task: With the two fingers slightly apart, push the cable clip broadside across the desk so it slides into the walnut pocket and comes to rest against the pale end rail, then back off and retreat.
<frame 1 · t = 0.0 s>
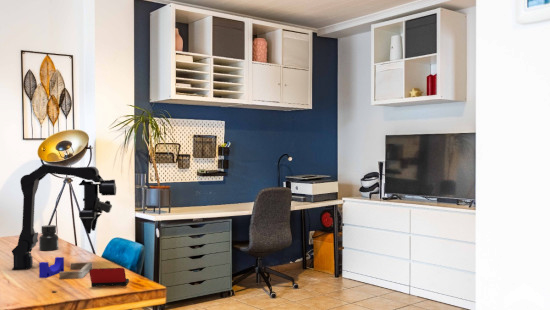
hand: (91, 232, 238), 15 cm above the table, tool pointing down, fingers open, 9 cm apart
cable clip: (50, 275, 223), on the table
slot rails: (74, 273, 224), on the table
ink bottle: (48, 250, 281), on the table
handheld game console: (109, 286, 204), on the table
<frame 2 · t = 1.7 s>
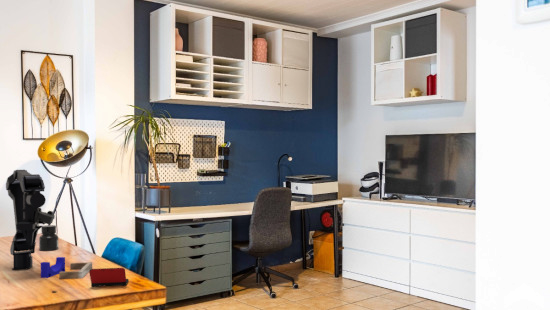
hand: (31, 244, 222), 12 cm above the table, tool pointing down, fingers open, 3 cm apart
nothing on the table moved.
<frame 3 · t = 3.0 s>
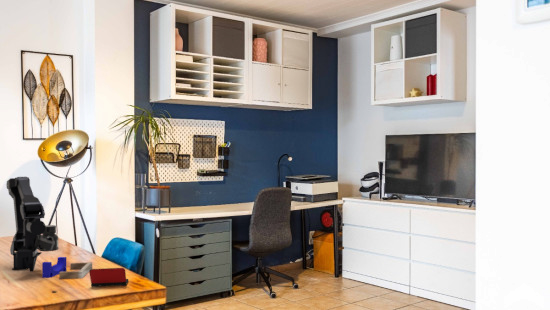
hand: (31, 271, 222), 1 cm above the table, tool pointing down, fingers closed
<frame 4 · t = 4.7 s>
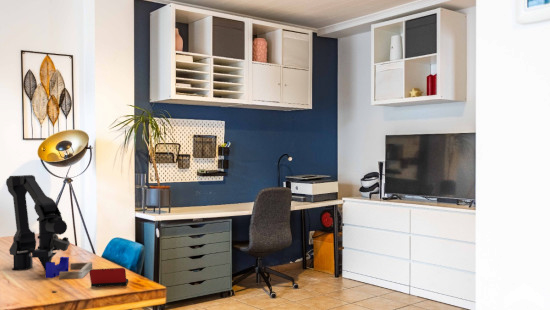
hand: (47, 271, 223), 1 cm above the table, tool pointing down, fingers closed
cable clip: (55, 275, 223), on the table, touching gripper
everything else where it was.
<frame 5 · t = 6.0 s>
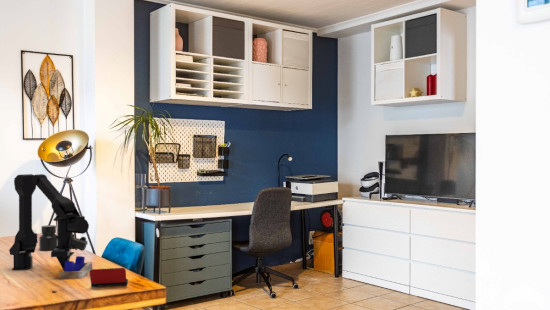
hand: (65, 271, 224), 1 cm above the table, tool pointing down, fingers closed
cable clip: (72, 274, 223), on the table
everything else where it was.
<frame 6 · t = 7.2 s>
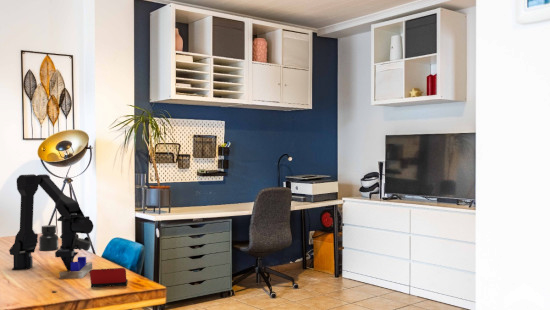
hand: (69, 271, 224), 1 cm above the table, tool pointing down, fingers closed
cable clip: (76, 274, 223), on the table
everything else where it was.
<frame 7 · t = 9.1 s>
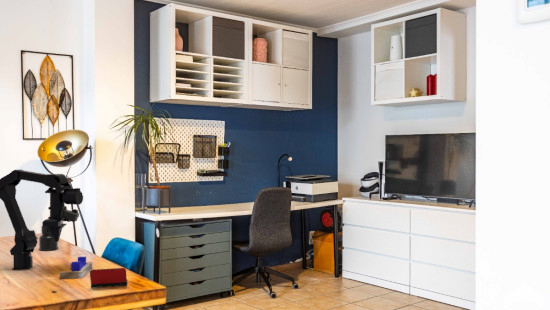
hand: (57, 241, 232), 12 cm above the table, tool pointing down, fingers closed
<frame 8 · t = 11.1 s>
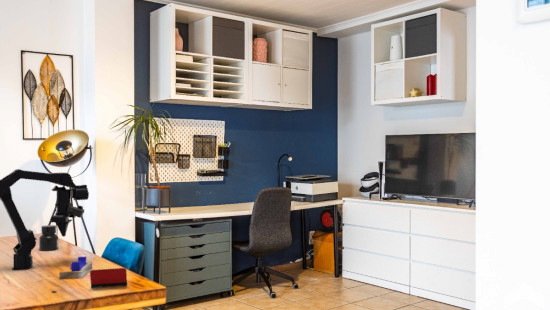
hand: (63, 236, 245), 12 cm above the table, tool pointing down, fingers closed
at the end: cable clip inside the target area on the slot rails (1.4 cm from its centre), point 0.0 cm above the slot rails's base; cable clip moved 10.7 cm from its start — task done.
